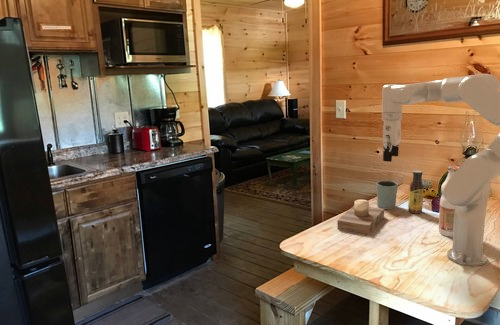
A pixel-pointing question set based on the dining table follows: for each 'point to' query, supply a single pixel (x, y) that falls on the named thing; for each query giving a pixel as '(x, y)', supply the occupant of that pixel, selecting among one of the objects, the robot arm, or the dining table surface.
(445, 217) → the fruit juice
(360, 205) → the wooden peg
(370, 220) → the walnut slab
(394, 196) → the grey green cup
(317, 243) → the dining table surface
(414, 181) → the sauce bottle
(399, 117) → the robot arm
